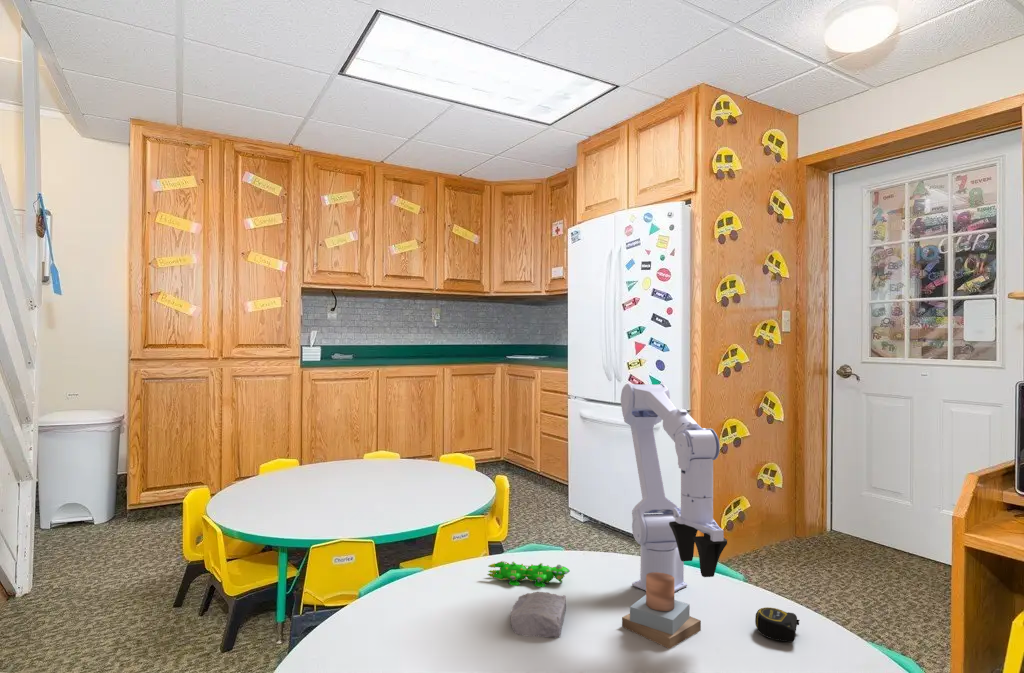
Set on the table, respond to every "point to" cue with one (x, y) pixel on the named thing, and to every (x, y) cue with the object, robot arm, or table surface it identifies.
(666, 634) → the tower base
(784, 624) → the tape measure
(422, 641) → the table surface
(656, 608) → the brown cylinder
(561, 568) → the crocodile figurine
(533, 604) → the stone block
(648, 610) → the tower top
